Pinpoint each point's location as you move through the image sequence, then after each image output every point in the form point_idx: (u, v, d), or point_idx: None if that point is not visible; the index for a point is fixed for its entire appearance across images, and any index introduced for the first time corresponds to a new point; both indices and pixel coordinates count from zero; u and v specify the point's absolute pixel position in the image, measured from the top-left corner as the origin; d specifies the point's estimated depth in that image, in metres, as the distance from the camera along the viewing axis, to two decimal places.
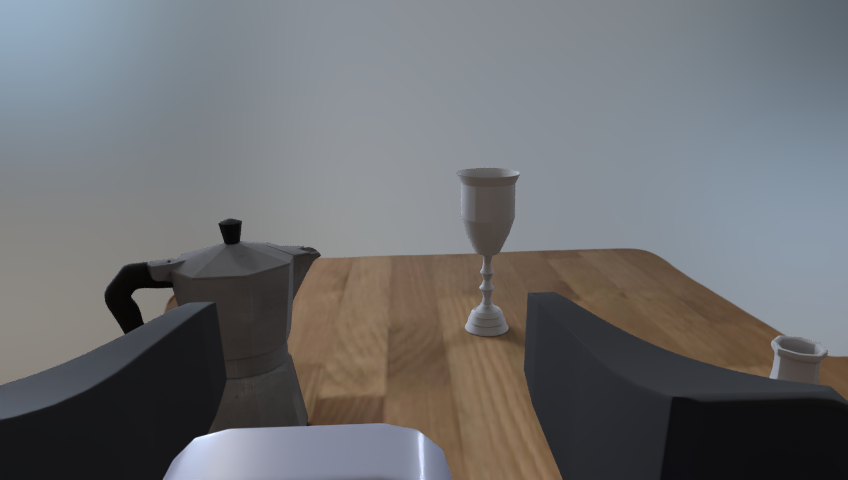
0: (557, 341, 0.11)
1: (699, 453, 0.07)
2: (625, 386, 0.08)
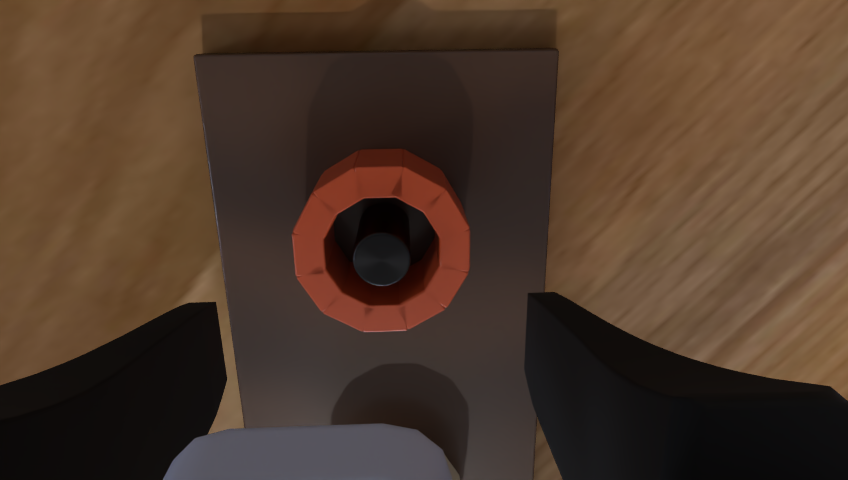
0: (557, 341, 0.11)
1: (699, 453, 0.07)
2: (625, 386, 0.08)
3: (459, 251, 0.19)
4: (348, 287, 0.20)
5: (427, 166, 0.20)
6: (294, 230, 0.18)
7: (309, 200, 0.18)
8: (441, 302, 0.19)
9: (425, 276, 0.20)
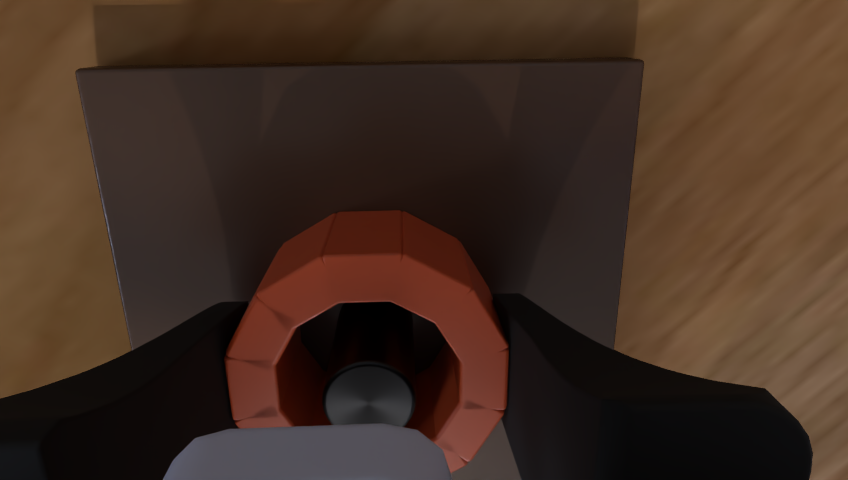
0: (515, 342, 0.11)
1: (627, 454, 0.07)
2: (567, 388, 0.08)
3: (491, 381, 0.12)
4: None
5: (439, 240, 0.13)
6: (227, 352, 0.11)
7: (250, 307, 0.11)
8: (461, 454, 0.13)
9: (436, 408, 0.13)
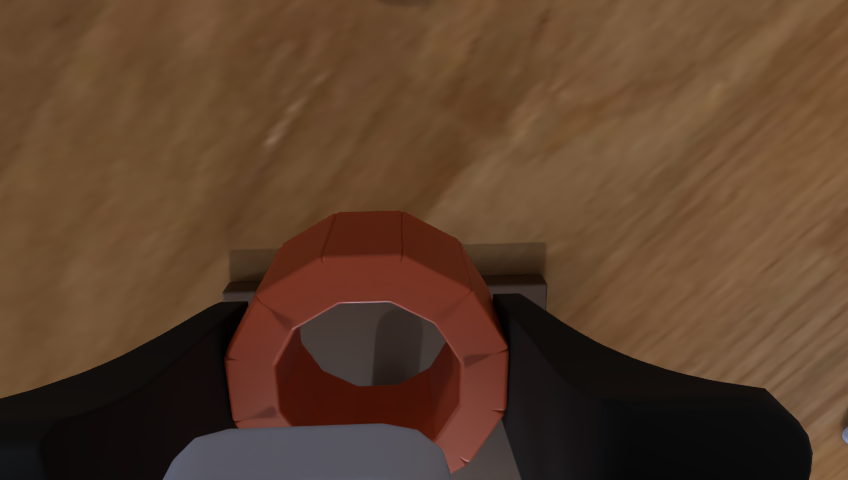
0: (515, 342, 0.11)
1: (627, 455, 0.07)
2: (567, 388, 0.08)
3: (491, 382, 0.12)
4: None
5: (439, 241, 0.13)
6: (227, 353, 0.11)
7: (250, 307, 0.11)
8: (461, 454, 0.13)
9: (436, 409, 0.13)
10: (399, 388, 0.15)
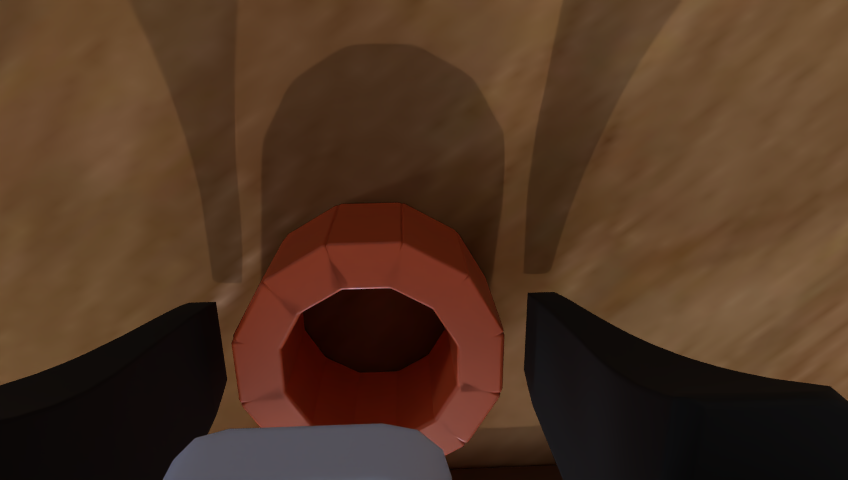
0: (557, 341, 0.11)
1: (698, 451, 0.07)
2: (625, 386, 0.08)
3: (487, 365, 0.12)
4: (321, 411, 0.13)
5: (438, 231, 0.13)
6: (235, 337, 0.12)
7: (257, 293, 0.12)
8: (459, 435, 0.13)
9: (435, 392, 0.14)
10: (399, 374, 0.15)
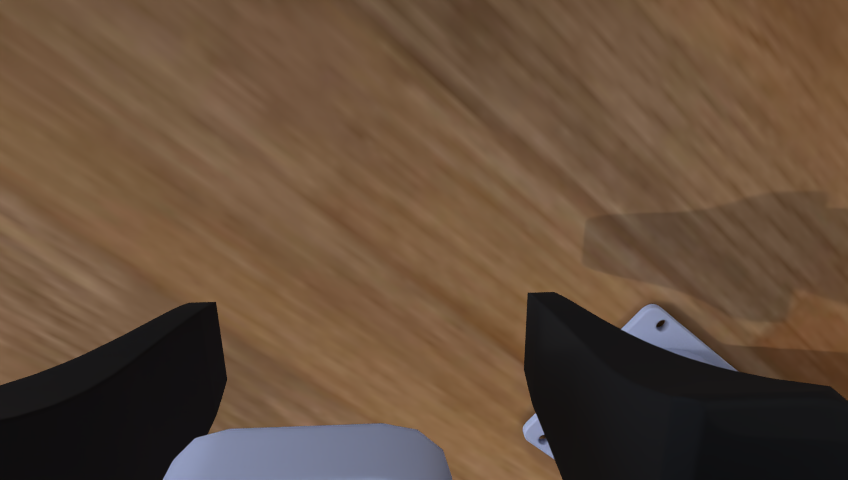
0: (557, 341, 0.11)
1: (699, 453, 0.07)
2: (625, 386, 0.08)
3: None
4: None
5: None
6: None
7: None
8: None
9: None
10: None
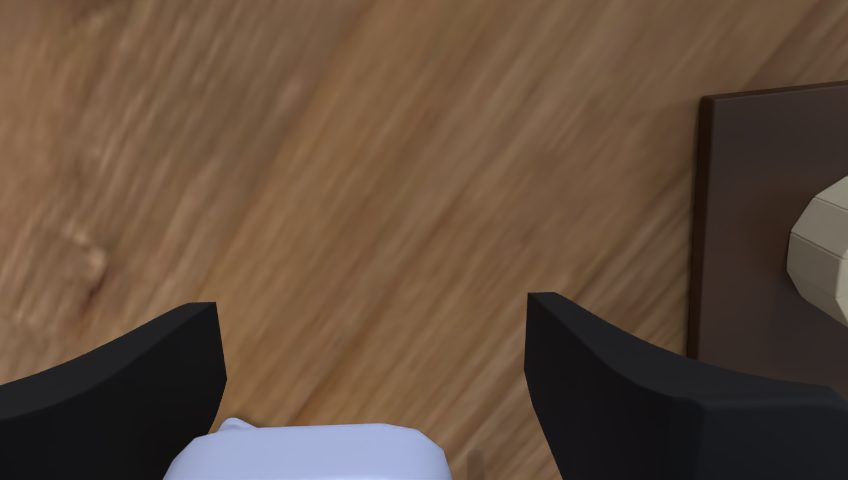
0: (557, 341, 0.11)
1: (699, 453, 0.07)
2: (625, 386, 0.08)
3: None
4: None
5: None
6: None
7: None
8: None
9: None
10: None
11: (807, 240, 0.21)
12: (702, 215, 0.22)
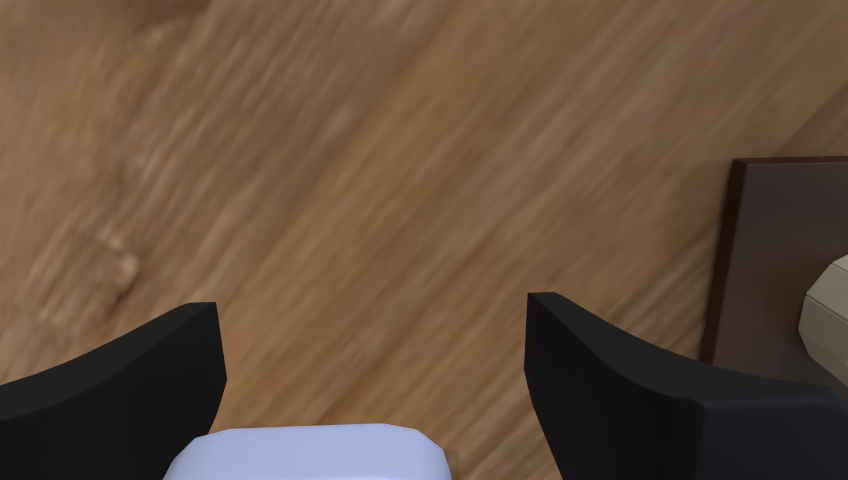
0: (557, 341, 0.11)
1: (699, 453, 0.07)
2: (625, 386, 0.08)
3: None
4: None
5: None
6: None
7: None
8: None
9: None
10: None
11: (822, 305, 0.22)
12: (724, 271, 0.23)
